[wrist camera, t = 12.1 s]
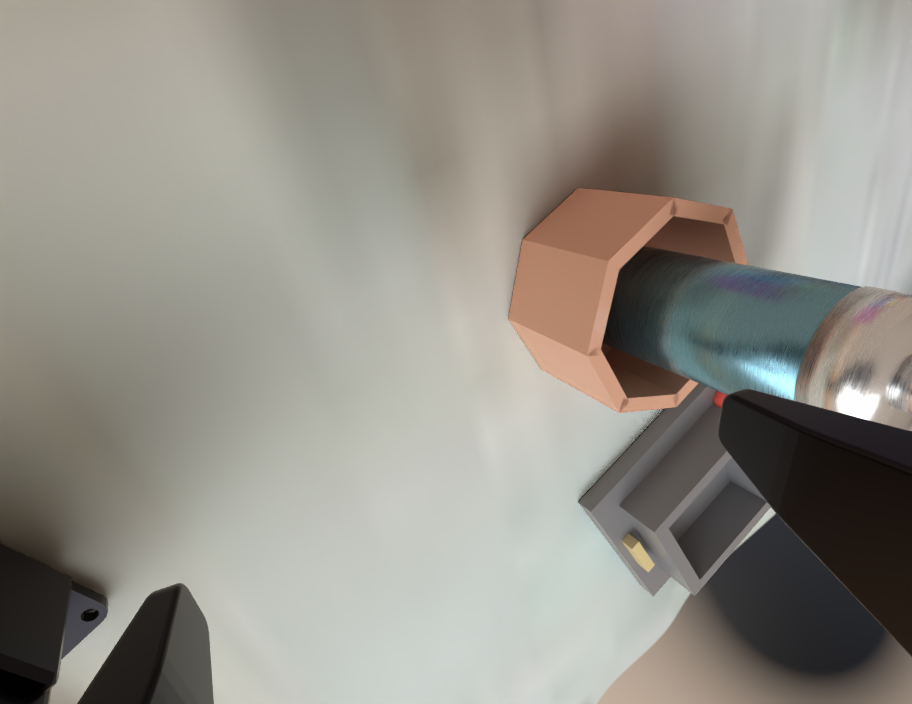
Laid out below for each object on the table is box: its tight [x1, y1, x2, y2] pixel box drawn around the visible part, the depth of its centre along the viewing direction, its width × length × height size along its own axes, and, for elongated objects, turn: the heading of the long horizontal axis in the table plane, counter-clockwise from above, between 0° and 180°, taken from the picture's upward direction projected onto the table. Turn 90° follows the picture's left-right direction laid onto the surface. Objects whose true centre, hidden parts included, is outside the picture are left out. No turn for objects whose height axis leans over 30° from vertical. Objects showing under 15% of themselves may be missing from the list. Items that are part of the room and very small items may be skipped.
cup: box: [508, 188, 748, 413], centre depth 23 cm, size 8×8×5 cm
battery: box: [602, 246, 912, 430], centre depth 19 cm, size 4×4×13 cm
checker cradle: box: [579, 383, 771, 596], centre depth 32 cm, size 11×11×4 cm
